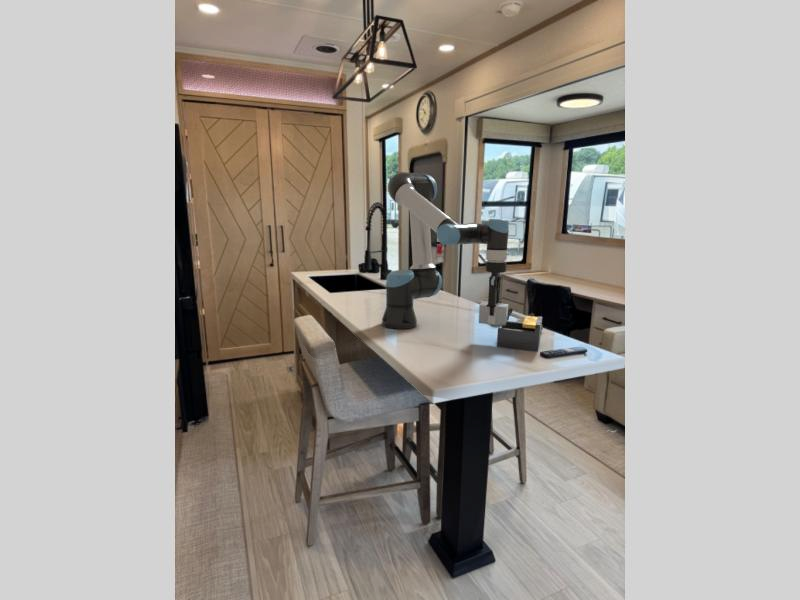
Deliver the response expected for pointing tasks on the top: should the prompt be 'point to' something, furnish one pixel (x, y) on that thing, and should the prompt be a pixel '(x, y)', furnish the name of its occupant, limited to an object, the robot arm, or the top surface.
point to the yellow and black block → (529, 315)
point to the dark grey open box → (521, 334)
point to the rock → (509, 312)
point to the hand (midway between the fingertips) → (492, 321)
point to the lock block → (500, 313)
